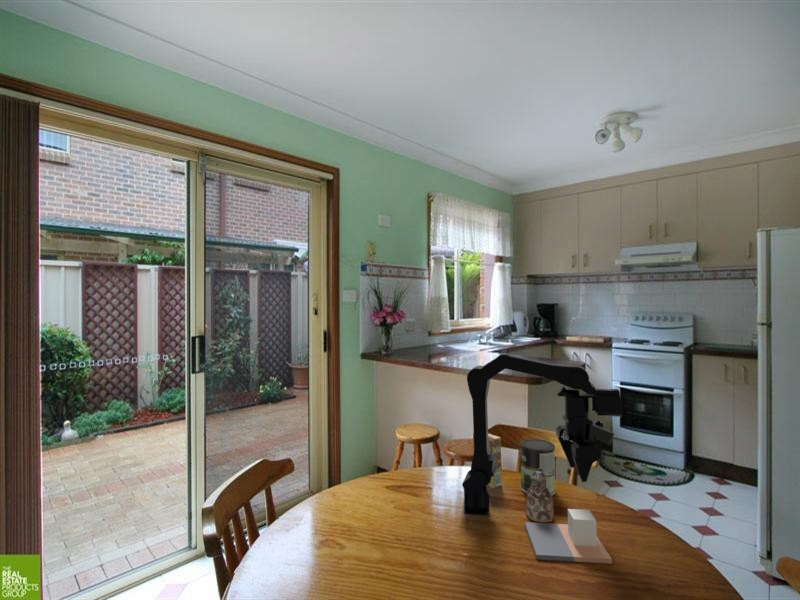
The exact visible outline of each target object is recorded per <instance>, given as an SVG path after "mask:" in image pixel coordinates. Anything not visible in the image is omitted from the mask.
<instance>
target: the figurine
mask: <svg viewBox="0 0 800 600" xmlns="http://www.w3.org/2000/svg"><path fill="white" fill-rule="evenodd" d="M546 479H547V478H546V476H545V474H544V473H543V472H542V469H541V468H538V471H535V472H533V474H532V476H531V484H532V486H531V487H530V488H529V489H528V492H527V493H526V503H525V504H526V505H525V514H526V516H527V517H528V518H529V519H530V520H532V521H535V522H536V523H551V522H552V521H553V519H554V515H555V513H554V512H555V510H554V509H555V508H554V501H553V496H552V495H551V493H550V491H549V489H548V488H547V487H546Z"/></svg>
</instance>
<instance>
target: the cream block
mask: <svg viewBox="0 0 800 600" xmlns="http://www.w3.org/2000/svg"><path fill="white" fill-rule="evenodd" d="M567 524H568V534H569V536H570V538H571V540H572V542H573V544H574V545H576V546H592V547H597V537H598V536H597V534H598V533H597V532H598V531H597V519H596V518H595V516H594V514H593V513H592V512H591V511H590V509H582V508H581V509H578V508H567Z"/></svg>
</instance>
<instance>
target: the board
mask: <svg viewBox="0 0 800 600" xmlns="http://www.w3.org/2000/svg"><path fill="white" fill-rule="evenodd" d="M524 527H525V531H526V533H527V535H528V539H529V541H530V545H531V547H532V549H533V550H532V551H533V553H534V555H535V558H536V560H544V561H545V560H546V561H558V562H560V561H561V562H577V563H578V562H579V563H595V564H609V565H612V564H613V560H612V557H611V555H610V554H609V553H608V551H607V549H606V548H605V546H604V545H603V544H602V541H601V540H600V539H599V537H598V536H597V547H592V546H576V545H574V544H573V542H572V540H571V538H570V536H569V534H568V523H551V522H528V521H527V522H526V521H524Z"/></svg>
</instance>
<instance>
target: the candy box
mask: <svg viewBox="0 0 800 600" xmlns="http://www.w3.org/2000/svg"><path fill="white" fill-rule="evenodd" d="M472 441H473V442H472V443H473V450H474V432H472ZM488 444H489V450H490V453H491V454H496V456H495V465H496V470H495V473H494V476H493V477H492V478H491V481H490V483H489V484H488V485H487V487H490V488H492V489H495V488H498V487H500V486H502V485H503V481H502V480H503V479H502V478H503V477H502V476H503V474H502V473H503V472H502V443H501V437H500V436H497V435H494V434H492V433H490V432H488Z"/></svg>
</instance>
